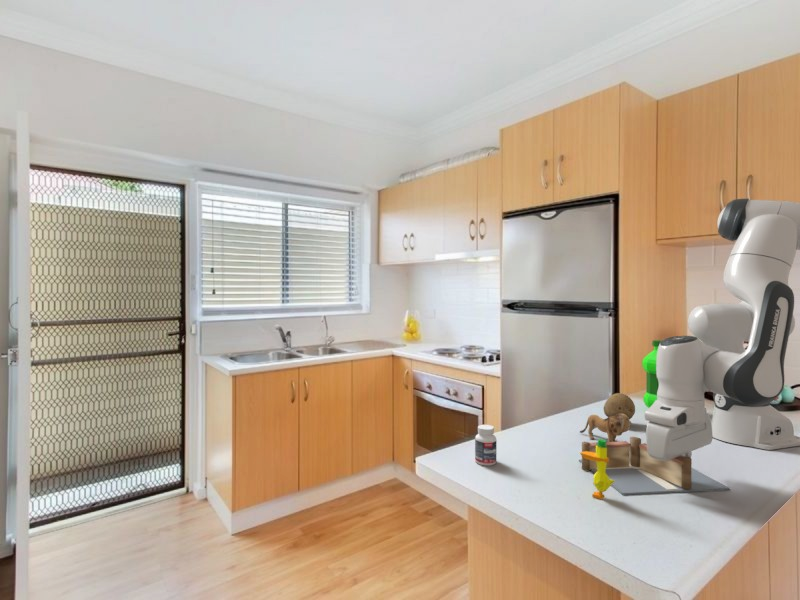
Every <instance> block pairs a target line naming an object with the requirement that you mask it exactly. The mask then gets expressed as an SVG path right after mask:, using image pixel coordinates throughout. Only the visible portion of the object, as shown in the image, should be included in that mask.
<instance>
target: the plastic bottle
mask: <svg viewBox="0 0 800 600" xmlns="http://www.w3.org/2000/svg"><path fill="white" fill-rule="evenodd" d="M663 340H664V339H662V340H659V339H655V340H653V339H652V340H651V341H652V344H651V345H652V346H653V350H652V351H651V352H649V353H647V355H646V356H645V357H643V360H642V361H641V362H642V369H643V370H644V371H645V372H646V392H645V394H644V396H643V403H644V405H645V406H646V407H647V409H648V408H650V407H651V406H652V405H653V403H654V402H655V401H656V400H657V391H658V387H659V382H658V379H657V375H656V359H657V350H658V347H659V344H660V342H661V341H663Z"/></svg>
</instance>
